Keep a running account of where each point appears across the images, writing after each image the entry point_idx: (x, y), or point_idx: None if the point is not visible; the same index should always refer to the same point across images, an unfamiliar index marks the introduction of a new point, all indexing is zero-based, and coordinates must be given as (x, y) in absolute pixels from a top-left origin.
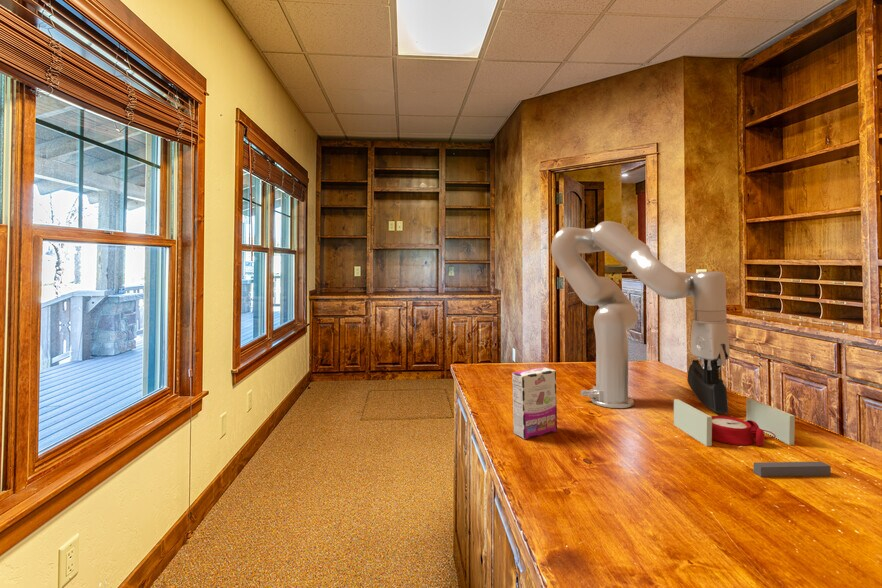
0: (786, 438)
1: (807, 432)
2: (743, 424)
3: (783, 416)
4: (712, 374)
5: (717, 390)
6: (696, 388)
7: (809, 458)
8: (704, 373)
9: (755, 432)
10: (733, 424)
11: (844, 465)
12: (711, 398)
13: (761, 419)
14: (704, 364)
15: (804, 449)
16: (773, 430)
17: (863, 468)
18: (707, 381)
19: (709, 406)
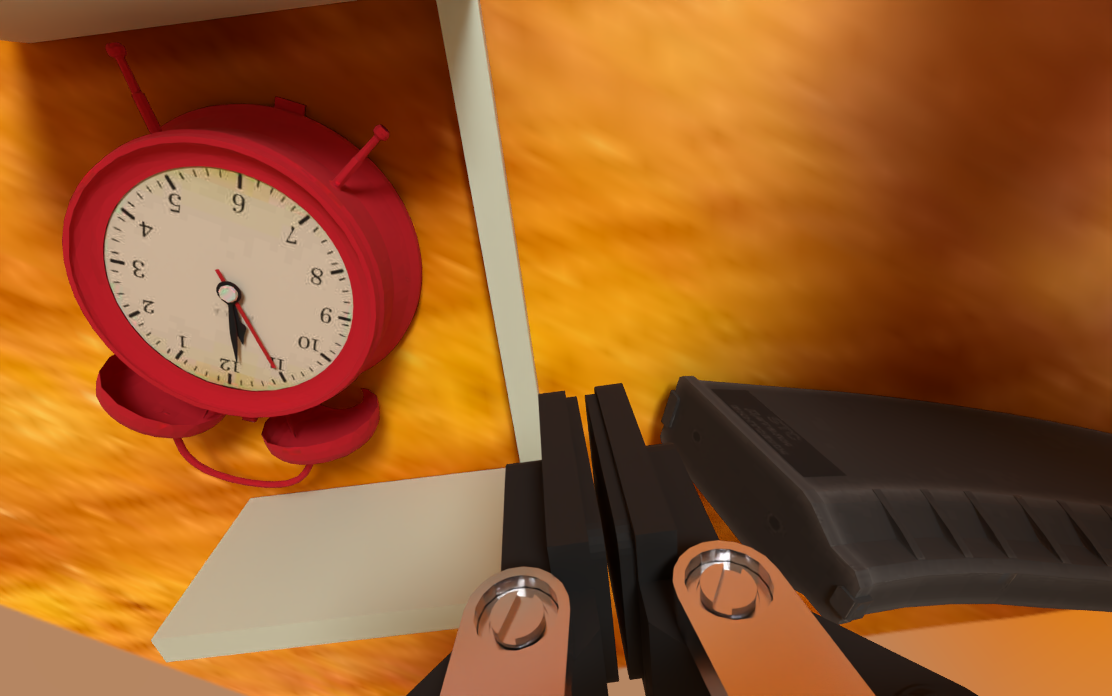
0: (253, 515)
1: (456, 631)
2: (254, 381)
3: (215, 614)
4: (504, 549)
5: (774, 501)
6: None
7: (84, 491)
8: (620, 473)
9: (340, 427)
10: (225, 315)
11: (60, 567)
12: (802, 430)
13: (422, 525)
14: (699, 642)
15: (210, 526)
16: (338, 512)
17: (58, 605)
18: (541, 415)
19: (806, 394)
